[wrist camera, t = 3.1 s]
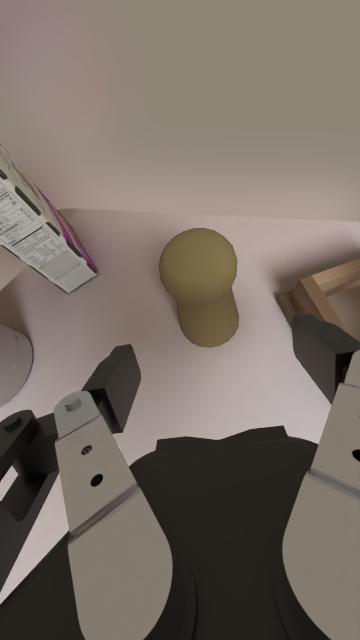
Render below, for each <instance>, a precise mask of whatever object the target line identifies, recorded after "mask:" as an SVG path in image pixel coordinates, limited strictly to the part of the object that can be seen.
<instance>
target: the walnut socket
mask: <svg viewBox="0 0 360 640" xmlns="http://www.w3.org/2000/svg"><path fill="white" fill-rule="evenodd" d="M277 301H278V303H279V305H280V307H281V309H282V311H283V313H284V314H285V316H286V318H287V320H288V322H289V324H290V325H291V327H292V317H293V316H297V315H303V314H309V313H311V314H312V315H314V316H315V317H316V318H318V319H319V320H320V321H321V322H323V321H326V322H329V323H332V324H335V325H337V326H338V327H340V328H341V329H343V330H344V332H347V333H348V334H350V336H352V337H354V338H355V339H356V340H358V341H359V342H360V258H359V259H356V260H353V261H350V262H348V263H345V264H342V265H339V266H336V267H334V268H331V269H328V270H325V271H322V272H319V273H317V274H314V275H311V276H308V277H305V278H303V279H300V280H299V282H298V284H297V286H296V288H295V290H292V291H289V292H286V293H283V294H281V295H278V298H277Z"/></svg>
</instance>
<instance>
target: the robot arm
mask: <svg viewBox="0 0 360 640" xmlns="http://www.w3.org/2000/svg"><path fill="white" fill-rule="evenodd" d="M292 336H293V349H294V353H295V356H296V358H297V359H298V361H299V362H300V363H301V365H302V366H303V367H304V369H305V370H306V371H307V373H308V374H309V375H310V377H311V378H312V379H313V380H314V382H315V383H316V384H317V386H318V387H319V388H320V390H321V391H322V392H323V394H324V395H325V396H326V398H327V399H328V400H329V402H330V403H331V404H332V407H331V410H330V413H329V415H328V418H327V421H326V424H325V427H324V430H323V433H322V436H321V439H320V442H319V445H318V444H316V443H313V442H311V441H308V440H304V439H301V438H296V437H290V436H288V435H287V433H286V431H285V428H284V426H275V427H266V428H257V429H250V430H247V431H244V432H241V433H238V434H235V435H233V436H230V437H227V438H224V439H221V440H213V439H204V438H196V437H187V436H186V437H177V438H168V439H159V440H157V445H156V450H155V451H153V452H150V453H148V454H146V455H144V456H143V457H141V458H139V459H138V460H136V461H135V462H134V463H132V464H131V465H130V466H129V467H128V465H127V463H126V461H125V459H124V457H123V455H122V453H121V451H120V449H119V447H118V445H117V443H116V441H115V439H114V438H113V436H112V434H114V433H123V430H124V427H125V424H126V422H127V419H128V416H129V413H130V410H131V407H132V404H133V401H134V398H135V396H136V393H137V390H138V387H139V384H140V381H141V372H140V368H139V365H138V362H137V359H136V356H135V353H134V350H133V348H132V346H131V345H130V344H128V345H122V346H116V347H115V348H114V349H113V351H112V353H111V354H110V356H109V357H107V358H106V359H104V360H103V361H102V362H101V363H100V364H99V365H98V366H97V368H96V369H95V371H94V372H93V374H92V376H91V377H90V378H89V380H88V381H87V383H86V384H85V386H84V387H83V388H82V390H81V391H79V392H75V393H73V394H70V395H69V396H67V397H65V398H64V399H62V400H61V401H60V402H59V403H58V404H57V405H56V407H55V409H54V413H51V414H48V415H46V416H43V417H40V418H37V419H36V417H35V415H34V414H33V412H32V411H31V410H23V411H19V412H17V413H14V414H12V415H10V416H9V417H7V418H6V419H4V420H3V421H1V422H0V482H1V480H2V478H3V477H4V476H5V474H6V473H7V471H8V470H9V468H10V467H11V466H13V467H14V469H15V470H16V472H17V473H18V476H17V478H16V479H15V481H14V482H13V484H12V485H11V487H10V488H9V490H8V492H7V493H6V495H5V496H4V498H3V499H2V501H0V592H1V590H2V588H3V586H4V584H5V582H6V579H7V577H8V575H9V573H10V571H11V569H12V567H13V565H14V563H15V561H16V559H17V557H18V555H19V553H20V551H21V549H22V547H23V545H24V543H25V541H26V539H27V537H28V535H29V533H30V531H31V529H32V527H33V525H34V523H35V521H36V519H37V517H38V514H39V512H40V510H41V508H42V506H43V504H44V502H45V500H46V498H47V496H48V494H49V492H50V490H51V488H52V486H53V484H54V482H55V480H56V478H57V476H58V474H59V472H60V478H61V483H62V489H63V495H64V501H65V507H66V513H67V519H68V524H69V531H68V532H67V533H66V534H65V535H64V536H63V537H62V539H61V540H60V541H59V542H58V543H57V544H56V545H55V546H54V547H53V548H52V549H51V550H50V551H49V553H48V554H47V555H46V556H45V557H44V558H43V559H42V560H41V561H40V562H39V563H38V564H37V566H36V567H35V568H34V569H33V570H32V571H31V572H30V573H29V574H28V575H27V576H26V577H25V578H24V580H23V581H22V582H21V583H20V584H19V585H18V586H17V587H16V588H15V589H14V590H13V591H12V592H11V594H10V595H9V596H8V597H7V598H6V599H5V600H4V601H3V602H2V603H1V604H0V640H360V342H359V341H358V340H356V339H355V338H354V337H352V336H350V334H348V333H347V332H344V330H343V329H341V328H340V327H338V326H337V325H335V324H332V323H329V322H326V321H323V322H321V321H320V320H319V319H318V318H316V317H315V316H314V315H312V314H311V313H309V314H303V315H297V316H293V317H292ZM32 357H33V353H32V346H31V344H30V341H29V340H28V338H27V337H26V336H25V335H24V334H23V333H21V332H19V331H17V330H14V329H12V328H9V327H7V326H4V325H2V324H0V406H1V405H3V404H5V403H6V402H8V401H9V400H10V399H11V398H12V397H14V396H15V394H16V393H17V392H18V391H19V390H20V389H21V387H22V386H23V384H24V382H25V381H26V379H27V377H28V374H29V372H30V369H31V365H32Z"/></svg>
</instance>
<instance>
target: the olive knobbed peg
mask: <svg viewBox="0 0 360 640" xmlns="http://www.w3.org/2000/svg"><path fill="white" fill-rule="evenodd" d="M159 271H160V277H161V281H162V283H163V285H164V286H165V288H166V290H167V291H168V293H169V294H170V295H172V296H173V297H174V298H175V299H176V301H177V306H178V312H179V318H180V324H181V329H182V331H183V333H184V335H185V336H186V338H187V339H189V340H190V341H191V342H192V343H194V344H196V345H198V346H201V347H215V346H220V345H222V344H223V343H225V342H227V341H229V340H230V338H231V337H232V336H233V335H234V334H235V332H236V330H237V327H238V324H239V315H238V311H237V307H236V303H235V300H234V296H233V292H232V288H231V286H232V284H233V282H234V280H235V277H236V272H237V258H236V255H235V252H234V249H233V246H232V245H231V243H230V242H229V241H228V240H227V239H226V238H225V237H224V236H223V235H221V234H219V233H217V232H216V231H214V230H210V229H206V228H194V229H190V230H187V231H184V232H182V233H180V234H178V235H176V236H175V237H174V238H173V239H172V240H171V241H170V242H169V243H168V244H167V245H166V247H165V249H164V251H163V253H162V254H161V258H160V263H159Z"/></svg>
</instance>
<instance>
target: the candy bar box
mask: <svg viewBox="0 0 360 640" xmlns="http://www.w3.org/2000/svg"><path fill="white" fill-rule="evenodd" d="M0 245H1V246H3V247H4V248H5V249H7V250H8V251H9V252H11V253H12V254H14V255H15V256H17V257H18V258H19V259H20V260H22V261H23V262H24V263H26V264H27V265H29V266H30V267H32V268H33V269H34V270H35V271H37V272H38V273H40V274H41V275H42V276H44V277H45V278H46V279H48V280H49V281H51V282H52V283H53V284H55V285H56V286H57V287H59V288H60V289H61V290H63V291H64V292H66V293H67V294H69V293H71V292H73V291H74V290H76V289H77V288H79V287H80V286H81V285H83V284H84V283H86V282H87V281H89V280H91V279H92V278H94V277H95V276H97V275H98V274H99V273H98V271H97V270H96V268H95V266H94V265H93V263H92V261H91V260H90V258H89V256H88V255H87V253H86V251H85V250H84V248H83V247H82V245H81V243H80V242H79V240H78V238H77V236H76V235H75V233H74V232H73V230H72V228H71V226H70V225H69V223H68V222H67V221H66V220H65V219H64V218H63V217H62V216H61V214H60V213H59V212H58V211H57V210H56V209H55V207H54V206H53V205H52V204H51V203H50V202H49V200H48V199H47V198H46V197H45V196H44V195H43V194H42V192H41V191H40V190H39V189H38V188H37V187H36V185H35V184H34V183H33V182H32V181H31V180H30V178H29V177H28V176H27V175H26V174H25V173H24V171H23V170H22V169H21V168H20V167H19V166H18V164H17V163H16V162H15V161H14V160H13V159H12V157H11V156H10V155H9V154H8V153H7V152H6V150H5V149H4V148H3V147H2V146H1V145H0Z"/></svg>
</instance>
